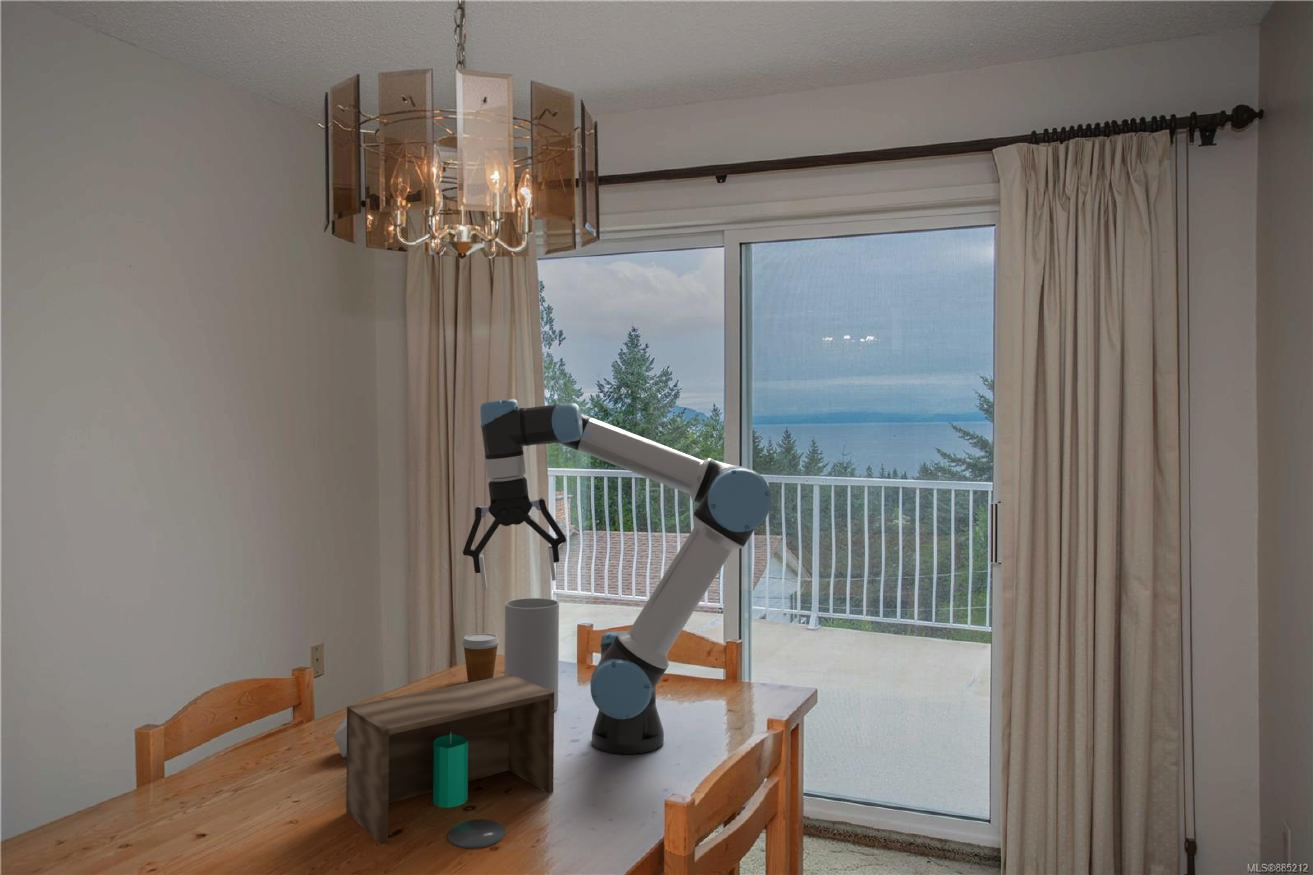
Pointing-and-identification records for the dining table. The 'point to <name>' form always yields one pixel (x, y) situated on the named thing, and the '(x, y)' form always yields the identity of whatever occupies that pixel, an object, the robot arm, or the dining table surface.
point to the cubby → (403, 729)
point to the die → (342, 738)
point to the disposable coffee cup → (480, 655)
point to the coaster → (476, 833)
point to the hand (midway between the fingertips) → (519, 583)
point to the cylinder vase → (533, 642)
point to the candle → (450, 770)
